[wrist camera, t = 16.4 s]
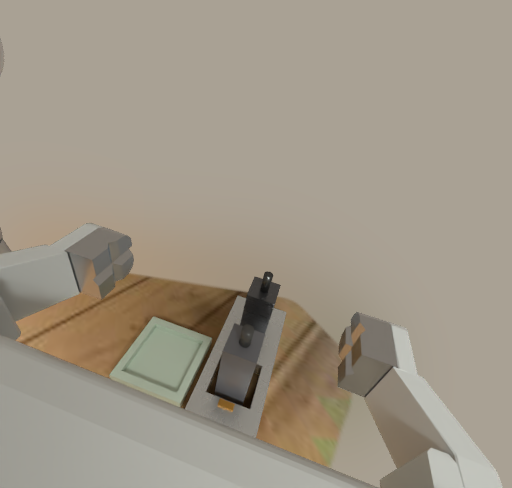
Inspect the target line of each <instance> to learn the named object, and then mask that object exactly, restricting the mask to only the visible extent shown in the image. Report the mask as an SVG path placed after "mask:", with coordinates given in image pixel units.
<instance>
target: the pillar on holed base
mask: <svg viewBox="0 0 512 488" xmlns="http://www.w3.org/2000/svg"><path fill="white" fill-rule="evenodd" d="M272 277H273V274H272V273H271V272H265V274H264V277H263V279H261V278H258V277H254V280H253V282H252V285H251V287H250V289H249V291H248V294H247V297H246V298H243V297H241V296H237V298H236V300H235V303H234V305H233V307H232V309H231V311H230V313H229V315H228V318H227V320H226V322H225V324H224V326H223V328H222V330H221V333H220V335H219V337H218V339H217V341H216V343H215V345H214V348H213V350H212V352H211V354H210V356H209V358H208V360H207V363H206V365H205V367H204V369H203V371H202V373H201V375H200V378H199V380H198V382H197V384H196V386H195V388H194V390H193V393H192V395H191V397H190V399H189V401H188V403H187V405H186V408H185V410H188V411H190V412H193V413H195V414H198V415H200V416H203V417H205V418H208V419H210V420H213V421H215V422H217V423H220V424H222V425H225V426H227V427H230V428H232V429H235V430H237V431H240V432H242V433H245V434H247V435H249V436H252V437H254V438H256V435H257V431H258V427H259V423H260V419H261V415H262V411H263V406H264V402H265V398H266V394H267V390H268V386H269V382H270V378H271V374H272V369H273V365H274V361H275V357H276V353H277V349H278V345H279V341H280V336H281V332H282V328H283V324H284V320H285V316H286V312H284V311H281V310H278V309H275V308H274V305H275V302H276V299H277V295H278V292H279V289H280V285H279V284H276V283H273V282H271V281H272ZM234 323H236V324H238V325H241V326H244V325H247V324H249V325H251V326H253V327H254V330H255V331H258V332H261V333H264V334H265V337H264V340H263V344H262V347H261V351H260V354H259V357H258V361H257V364H256V367H255V370H254V373H255V374H258V375H259V377H258V381H257V384H256V388H255V391H254V395H253V398H252V402H251V405H250V409H248V408H245V407H243V406H240V405H238V404H235V403H233V402H230V401H228V400H225V399H223V398H220V397H218V396H215V395H212V394H210V393H208V391H209V388H210V386H211V384H212V381H213V379H214V377H215V374H216V372H217V369H218V367H219V365H220V362H221V357H222V351H223V349H224V346H225V344H226V342H227V339H228V337H229V335H230V332H231V330H232V328H233V325H234Z"/></svg>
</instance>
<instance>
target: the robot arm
mask: <svg viewBox="0 0 512 488" xmlns="http://www.w3.org/2000/svg"><path fill="white" fill-rule="evenodd" d="M3 64H4V52H3V46H2V42H1V39H0V75H1V72H2V69H3ZM131 246H132V242H131V238H130V237H129V236H127V235H124V234H122V233H119V232H116V231H113V230H110V229H108V228H105V227H101V226H99V225H96V224H93V223H86V224H85V225H83V226H81V227H80V228H78V229H76V230H74V231H73V232H71V233H70V234H68V235H66V236H65V237H63V238H61V239H60V240H58V241H57V242H55V243H53V244H52V245H50V246H48V245H41V246H36V247H33V248H27V249H22V250H17V251H13V252H12V251H11V250H10V249H9V247H8V246H7V245H6V243H5V242H4V240H3V238H2V232H1V229H0V488H377V487H375V486H372V485H370V484H368V483H365V482H363V481H360V480H358V479H355V478H353V477H351V476H348V475H346V474H343V473H341V472H338V471H335V470H333V469H331V468H328V467H326V466H323V465H321V464H318V463H316V462H314V461H311V460H309V459H306V458H304V457H301V456H299V455H296V454H294V453H291V452H289V451H286V450H284V449H282V448H279V447H277V446H274V445H272V444H269V443H267V442H264V441H262V440H259V439H257V438H254V437H252V436H249V435H247V434H245V433H242V432H240V431H237V430H235V429H232V428H230V427H227V426H225V425H222V424H220V423H217V422H215V421H213V420H210V419H208V418H205V417H203V416H200V415H198V414H195V413H193V412H190V411H188V410H185V409H183V408H180V407H178V406H176V405H173V404H171V403H168V402H166V401H163V400H161V399H158V398H156V397H153V396H151V395H148V394H146V393H144V392H141V391H139V390H136V389H134V388H131V387H129V386H126V385H124V384H121V383H119V382H116V381H114V380H111V379H109V378H107V377H104V376H102V375H99V374H97V373H94V372H92V371H89V370H87V369H84V368H82V367H79V366H77V365H74V364H72V363H70V362H67V361H65V360H62V359H60V358H57V357H55V356H52V355H50V354H47V353H45V352H42V351H40V350H37V349H35V348H33V347H30V346H28V345H25V344H23V343H20V342H18V341H15V340H16V339H17V338H18V337H19V336H20V333H21V331H20V329H19V328H18V326H17V324H16V322H15V321H18V320H20V319H22V318H24V317H27V316H29V315H31V314H34V313H36V312H38V311H41V310H43V309H45V308H48V307H50V306H52V305H55V304H57V303H59V302H61V301H64V300H66V299H68V298H71V297H73V296H75V295H78V294H79V292H80V293H83V294H86V295H89V296H92V297H95V298H98V299H101V300H102V299H103V298H104V297H105V296H106V295H107V294H108V293H109V292H110V291H111V290H112V289H113V288H114V287H115V281H118V280H121V279H124V278H125V277H126V276H127V275H128V274H129V272H130V270H131V268H132V266H133V261H134V259H133V254H132V253H131V251H130V250H129V248H130V247H131ZM339 357H340V358H341V360H342V362H341V364H340V365H339V367H338V387H340V388H342V389H345V390H347V391H350V392H352V393H355V394H357V395H360V396H362V397H365V398H364V399H365V402H366V404H367V406H368V408H369V410H370V412H371V414H372V416H373V419H374V420H375V423H376V425H377V427H378V429H379V431H380V433H381V435H382V438H383V440H384V442H385V444H386V446H387V448H388V450H389V452H390V454H391V457H392V459H393V461H394V463H395V465H396V467H397V469H396V470H394V471H393V472H391V473H390V474H388V475H387V476H385V477H383V478H382V479H381V480H380V488H503V487H502V484H501V482H500V479H499V476H498V473H497V471H496V470H495V468H494V467H493V466H492V464H491V463H490V462H489V461H488V459H487V458H486V457H485V456H484V454H483V453H482V452H481V450H480V449H479V448H478V447H477V445H476V444H475V443H474V442H473V440H472V439H471V438H470V437H469V435H468V434H467V433H466V431H465V430H464V429H463V428H462V426H461V425H460V424H459V423H458V421H457V420H456V419H455V417H454V416H453V415H452V414H451V412H450V411H449V410H448V408H447V407H446V406H445V405H444V404H443V402H442V401H441V399H440V398H439V397H438V396H437V394H436V393H435V392H434V391H433V389H432V388H431V387H430V385H429V384H428V383H427V382H426V380H425V379H424V378H423V377H421V376H418V373H417V369H416V365H415V361H414V356H413V352H412V348H411V344H410V339H409V335H408V331H407V329H406V328H405V327H402V326H399V325H396V324H393V323H390V322H386V321H383V320H380V319H377V318H374V317H371V316H368V315H365V314H362V313H359V312H356V313H355V314H354V315H353V317H352V319H351V326H349V327H346V328H345V330H344V332H343V334H342V336H341V340H340V344H339Z"/></svg>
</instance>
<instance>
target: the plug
mask: <svg viewBox="0 0 512 488" xmlns="http://www.w3.org/2000/svg"><path fill="white" fill-rule="evenodd" d="M264 337H265V334H264V333H261V332H258V331H255V330H254V327H253V326H251V325H249V324H247V325H244V326H241V325H238V324H236V323H234V325H233V328H232V330H231V332H230V335H229V337H228V339H227V342H226V344H225V346H224V349H223V351H222V357H221V362H220V367H219V372H218V377H217V383H216V388H215V393H214V395H215V396H218V397H220V398H223V399H225V400H228V401H230V402H233V403H235V404H238V405H240V406H242V405H243V402H244V399H245V396H246V393H247V390H248V387H249V384H250V382H251V379H252V376H253V373H254V370H255V367H256V364H257V361H258V357H259V354H260V351H261V347H262V344H263V340H264Z"/></svg>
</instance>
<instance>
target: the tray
mask: <svg viewBox="0 0 512 488" xmlns="http://www.w3.org/2000/svg"><path fill="white" fill-rule="evenodd" d="M211 343H212V338H211V337H208V336H205V335H203V334H200V333H197V332H194V331H192V330H189V329H186V328H184V327H181V326H178V325H175V324H173V323H170V322H167V321H165V320H162V319H159V318H156V317H154V316H153V318H152V319H151V320H150V322H149V323H148V324H147V326H146V327H145V328H144V330H143V331H142V332H141V334H140V335H139V336H138V338H137V339H136V340H135V342H134V343H133V344H132V345H131V347H130V348H129V349H128V351H127V352H126V353H125V355H124V356H123V357H122V359H121V360H120V361H119V363H118V364H117V365H116V367H115V368H114V369H113V371H112V372H111V373H110V375H109V376H110V379H111V380H114V381H116V382H119V383H121V384H124V385H126V386H129V387H131V388H134V389H136V390H139V391H141V392H144V393H146V394H148V395H151V396H153V397H156V398H158V399H161V400H163V401H166V402H168V403H171V404H173V405H176V406H178V407H180V408H181V406H182V404H183V401H184V399H185V397H186V395H187V393H188V391H189V389H190V387H191V385H192V383H193V381H194V379H195V377H196V374H197V372H198V370H199V368H200V366H201V364H202V362H203V360H204V358H205V356H206V354H207V352H208V350H209V347H210V345H211Z"/></svg>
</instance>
